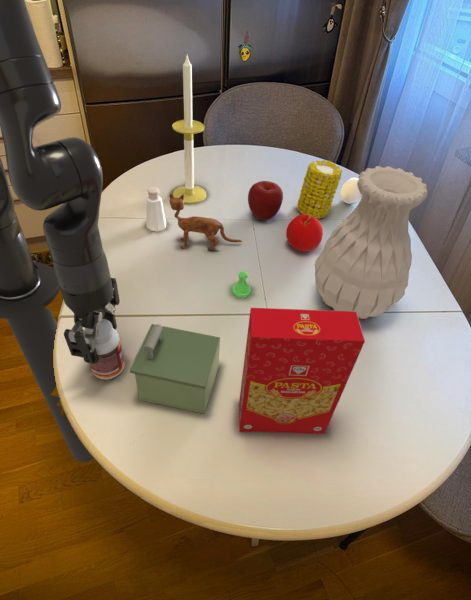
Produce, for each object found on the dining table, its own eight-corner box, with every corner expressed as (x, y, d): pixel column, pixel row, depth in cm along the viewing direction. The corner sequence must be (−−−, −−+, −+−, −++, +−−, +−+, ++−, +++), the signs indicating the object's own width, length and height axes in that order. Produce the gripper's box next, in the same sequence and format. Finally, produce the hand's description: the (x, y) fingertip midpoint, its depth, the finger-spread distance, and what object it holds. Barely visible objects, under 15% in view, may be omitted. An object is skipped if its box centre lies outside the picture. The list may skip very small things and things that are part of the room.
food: (290, 211, 124) (320, 207, 127) (310, 224, 115) (341, 221, 118) (295, 158, 116) (327, 156, 119) (317, 168, 107) (350, 166, 110)
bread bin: (139, 399, 74) (134, 374, 69) (159, 353, 82) (156, 327, 76) (204, 414, 73) (205, 389, 68) (218, 366, 80) (220, 340, 75)
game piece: (236, 283, 98) (237, 263, 93) (253, 288, 97) (255, 268, 92) (229, 294, 95) (230, 274, 90) (246, 300, 94) (249, 280, 90)
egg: (349, 195, 129) (356, 171, 124) (363, 205, 126) (371, 181, 120) (333, 199, 127) (339, 175, 121) (347, 210, 123) (354, 186, 118)
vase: (299, 271, 102) (326, 154, 81) (378, 270, 104) (423, 156, 83) (318, 334, 88) (356, 212, 67) (408, 331, 90) (473, 212, 69)
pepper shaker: (153, 218, 114) (150, 181, 107) (170, 224, 113) (168, 187, 105) (142, 228, 111) (137, 191, 103) (159, 234, 109) (156, 197, 102)
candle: (165, 194, 123) (156, 51, 97) (189, 182, 129) (187, 44, 103) (189, 207, 119) (186, 62, 93) (213, 194, 125) (217, 54, 98)
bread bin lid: (130, 373, 69) (126, 356, 66) (152, 326, 76) (149, 310, 73) (205, 389, 68) (205, 373, 64) (220, 340, 75) (220, 323, 72)
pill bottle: (130, 371, 78) (123, 333, 71) (99, 386, 76) (87, 348, 68) (117, 349, 82) (108, 310, 74) (86, 362, 79) (74, 324, 71)
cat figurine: (241, 237, 110) (245, 191, 101) (242, 253, 106) (246, 206, 96) (172, 235, 109) (170, 188, 100) (170, 251, 105) (167, 203, 95)
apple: (284, 224, 116) (289, 192, 109) (251, 227, 114) (254, 195, 107) (273, 205, 122) (278, 174, 115) (242, 208, 120) (245, 176, 113)
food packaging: (239, 431, 71) (251, 337, 53) (238, 404, 75) (250, 307, 57) (324, 433, 72) (365, 341, 54) (320, 406, 75) (356, 311, 58)
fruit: (281, 252, 107) (286, 219, 100) (287, 233, 113) (293, 200, 106) (316, 260, 105) (325, 227, 98) (321, 240, 112) (329, 208, 105)
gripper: (82, 242, 68) (99, 312, 80) (34, 302, 58) (62, 372, 69) (125, 250, 67) (136, 319, 79) (85, 312, 57) (104, 381, 69)
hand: (101, 344), depth 74 cm, fingers open, 7 cm apart
